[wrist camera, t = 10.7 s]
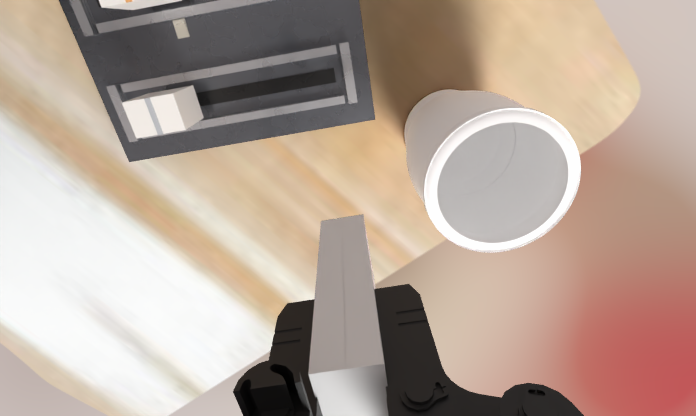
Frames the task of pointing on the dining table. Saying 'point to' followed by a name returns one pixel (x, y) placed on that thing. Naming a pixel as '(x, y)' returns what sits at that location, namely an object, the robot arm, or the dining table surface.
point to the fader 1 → (133, 3)
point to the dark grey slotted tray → (228, 66)
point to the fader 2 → (163, 111)
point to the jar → (490, 168)
